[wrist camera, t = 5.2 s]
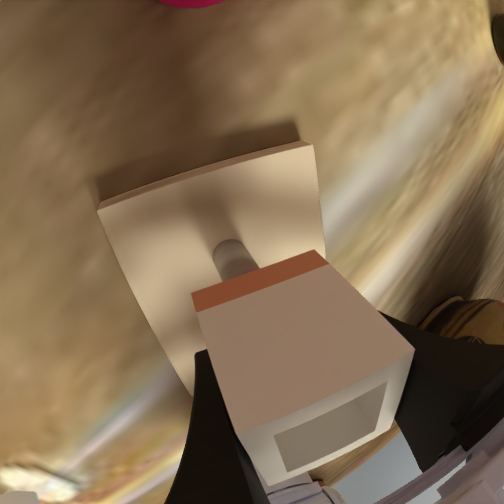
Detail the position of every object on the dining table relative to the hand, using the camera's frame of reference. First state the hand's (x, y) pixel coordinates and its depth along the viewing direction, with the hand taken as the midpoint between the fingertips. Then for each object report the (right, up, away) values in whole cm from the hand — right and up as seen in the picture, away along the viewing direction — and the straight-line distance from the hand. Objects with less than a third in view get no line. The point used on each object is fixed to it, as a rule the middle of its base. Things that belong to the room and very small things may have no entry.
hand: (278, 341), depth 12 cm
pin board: (-2, 0, +10) cm, 10 cm away
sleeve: (-1, +1, +1) cm, 1 cm away
